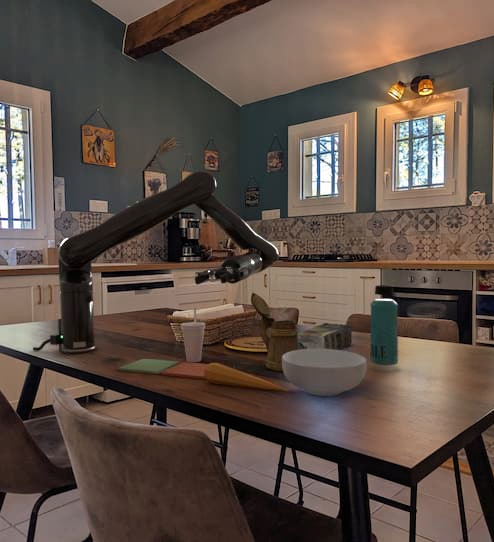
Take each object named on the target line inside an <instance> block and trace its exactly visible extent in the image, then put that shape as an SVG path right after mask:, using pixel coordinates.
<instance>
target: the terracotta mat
mask: <svg viewBox="0 0 494 542" xmlns="http://www.w3.org/2000/svg"><path fill="white" fill-rule="evenodd" d="M208 364H209V363H199V362H187V361H182V362H180V364H178V365H176V366H174V367H171V368H169V369H167V370H165V371H162V372H161V373H160V375H161V376H172V377H179V378H187V379H188V378H191V379H200V380H203V379H206V378H205V377H204V376H205V374H204V373H205V369H206V367H207V365H208Z"/></svg>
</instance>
